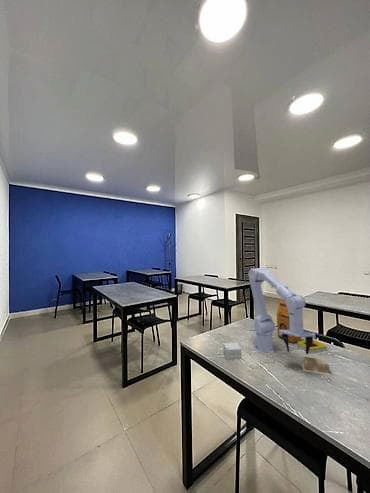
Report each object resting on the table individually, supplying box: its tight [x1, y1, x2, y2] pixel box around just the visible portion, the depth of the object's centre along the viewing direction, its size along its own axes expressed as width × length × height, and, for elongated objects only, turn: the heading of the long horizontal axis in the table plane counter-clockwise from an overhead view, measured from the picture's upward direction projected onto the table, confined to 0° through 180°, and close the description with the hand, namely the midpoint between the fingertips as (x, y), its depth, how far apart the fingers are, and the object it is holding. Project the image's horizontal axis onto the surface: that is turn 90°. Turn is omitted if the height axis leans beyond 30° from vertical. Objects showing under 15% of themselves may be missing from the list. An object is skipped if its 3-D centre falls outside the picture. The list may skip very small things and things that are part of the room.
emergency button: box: [294, 339, 331, 355], centre depth 115 cm, size 9×4×15 cm
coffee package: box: [276, 300, 302, 344], centre depth 128 cm, size 10×12×22 cm
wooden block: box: [303, 356, 330, 374], centre depth 95 cm, size 4×4×9 cm
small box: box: [223, 342, 243, 360], centre depth 111 cm, size 8×8×5 cm
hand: (297, 352), depth 98 cm, fingers open, 7 cm apart
